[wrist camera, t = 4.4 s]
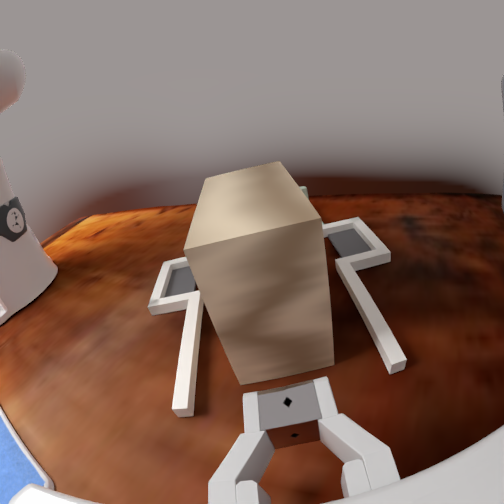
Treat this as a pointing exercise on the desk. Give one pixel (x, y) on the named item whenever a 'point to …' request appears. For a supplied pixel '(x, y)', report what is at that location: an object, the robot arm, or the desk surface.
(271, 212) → the maple block
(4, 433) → the tablet computer
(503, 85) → the newton's cradle
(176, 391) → the box
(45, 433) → the desk surface
